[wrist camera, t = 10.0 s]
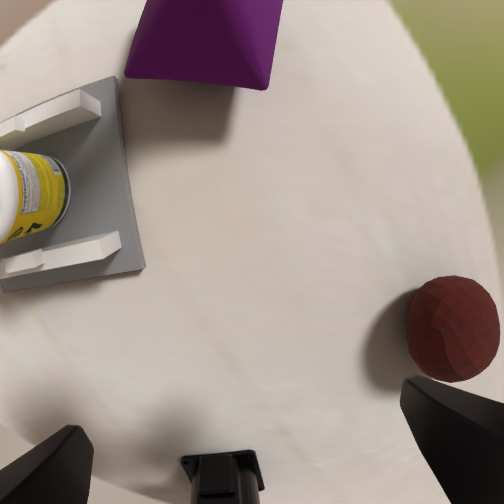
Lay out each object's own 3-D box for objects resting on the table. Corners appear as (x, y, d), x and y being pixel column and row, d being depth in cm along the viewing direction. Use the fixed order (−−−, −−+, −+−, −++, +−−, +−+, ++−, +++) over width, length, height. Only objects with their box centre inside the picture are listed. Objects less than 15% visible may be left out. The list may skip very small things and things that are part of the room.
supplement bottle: (20, 232, 17) (-67, 260, 8) (16, 162, 16) (-74, 159, 7) (76, 226, 17) (-12, 255, 9) (72, 149, 16) (-18, 134, 8)
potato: (434, 241, 20) (491, 261, 14) (481, 317, 22) (525, 345, 16) (369, 316, 21) (413, 359, 15) (429, 379, 23) (466, 418, 17)
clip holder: (145, 265, 19) (121, 290, 14) (8, 289, 18) (-29, 311, 13) (117, 79, 16) (88, 52, 11) (-16, 136, 15) (-57, 131, 11)
